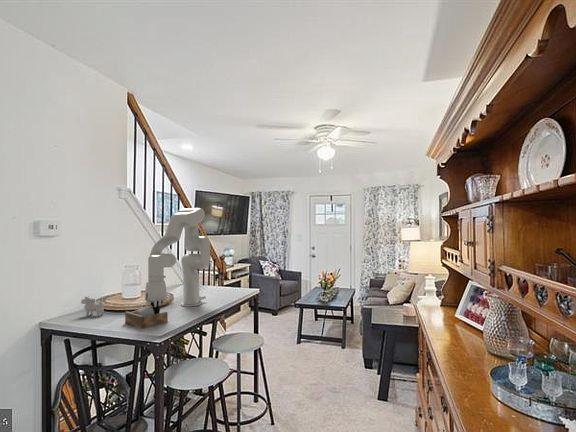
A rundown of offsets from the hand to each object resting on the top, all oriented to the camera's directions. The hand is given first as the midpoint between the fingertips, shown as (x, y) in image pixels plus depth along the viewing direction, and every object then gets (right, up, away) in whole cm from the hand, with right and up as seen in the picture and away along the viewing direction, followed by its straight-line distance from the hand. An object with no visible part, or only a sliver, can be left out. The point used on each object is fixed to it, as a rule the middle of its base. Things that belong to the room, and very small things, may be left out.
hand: (156, 314), depth 176 cm
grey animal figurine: (-40, -5, +12) cm, 42 cm away
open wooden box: (-3, -3, -4) cm, 6 cm away
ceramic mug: (-3, -3, -5) cm, 7 cm away
